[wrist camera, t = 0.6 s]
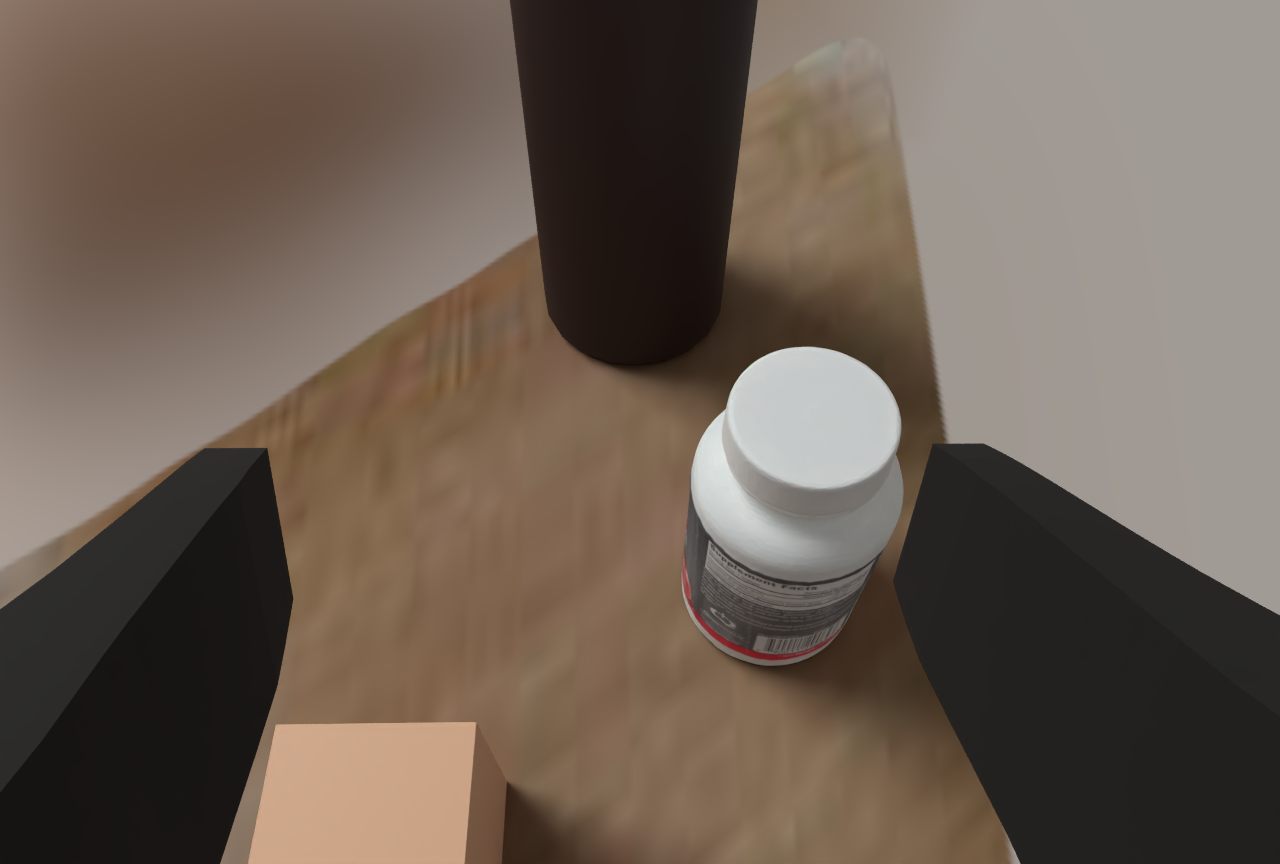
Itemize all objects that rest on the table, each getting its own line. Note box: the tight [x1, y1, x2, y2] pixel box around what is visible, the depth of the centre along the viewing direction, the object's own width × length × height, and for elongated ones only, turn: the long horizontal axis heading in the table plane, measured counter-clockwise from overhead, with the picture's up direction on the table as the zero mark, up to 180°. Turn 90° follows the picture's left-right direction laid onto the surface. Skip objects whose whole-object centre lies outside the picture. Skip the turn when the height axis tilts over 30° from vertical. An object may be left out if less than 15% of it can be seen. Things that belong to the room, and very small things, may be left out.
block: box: [248, 722, 507, 864], centre depth 22 cm, size 4×4×6 cm
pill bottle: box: [682, 347, 903, 666], centre depth 25 cm, size 5×5×10 cm
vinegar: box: [510, 0, 758, 365], centre depth 27 cm, size 7×7×20 cm
